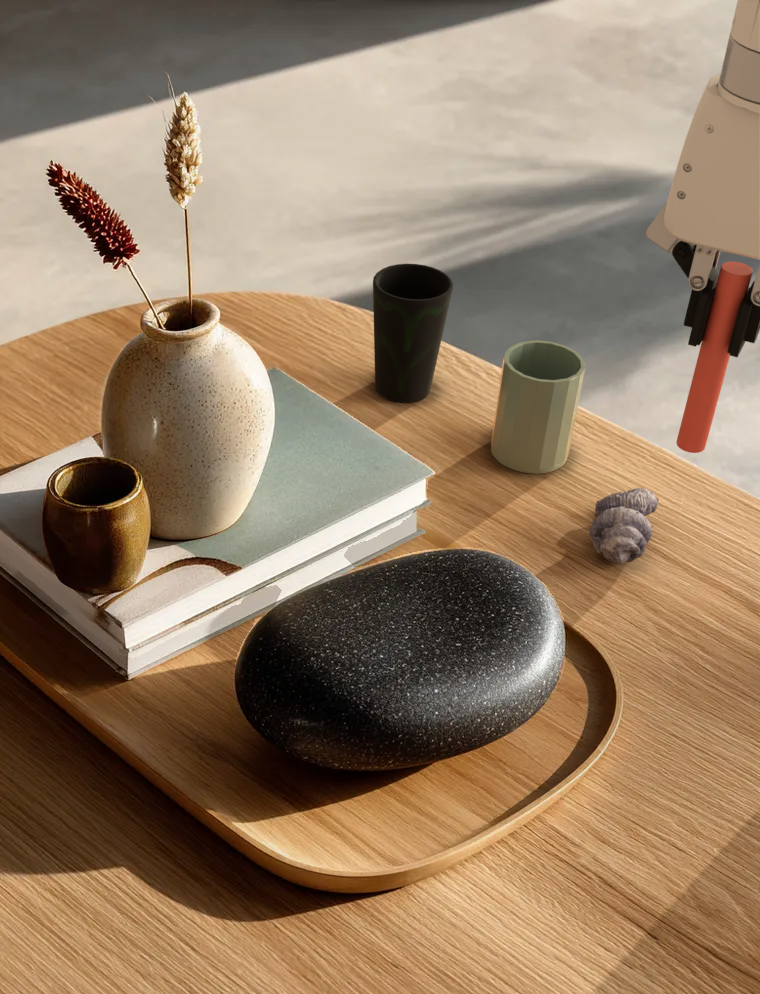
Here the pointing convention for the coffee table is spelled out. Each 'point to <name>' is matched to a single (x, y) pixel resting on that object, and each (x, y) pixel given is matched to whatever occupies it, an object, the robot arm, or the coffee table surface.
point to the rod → (713, 356)
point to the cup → (408, 328)
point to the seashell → (623, 524)
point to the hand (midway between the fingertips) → (717, 340)
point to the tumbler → (537, 406)
